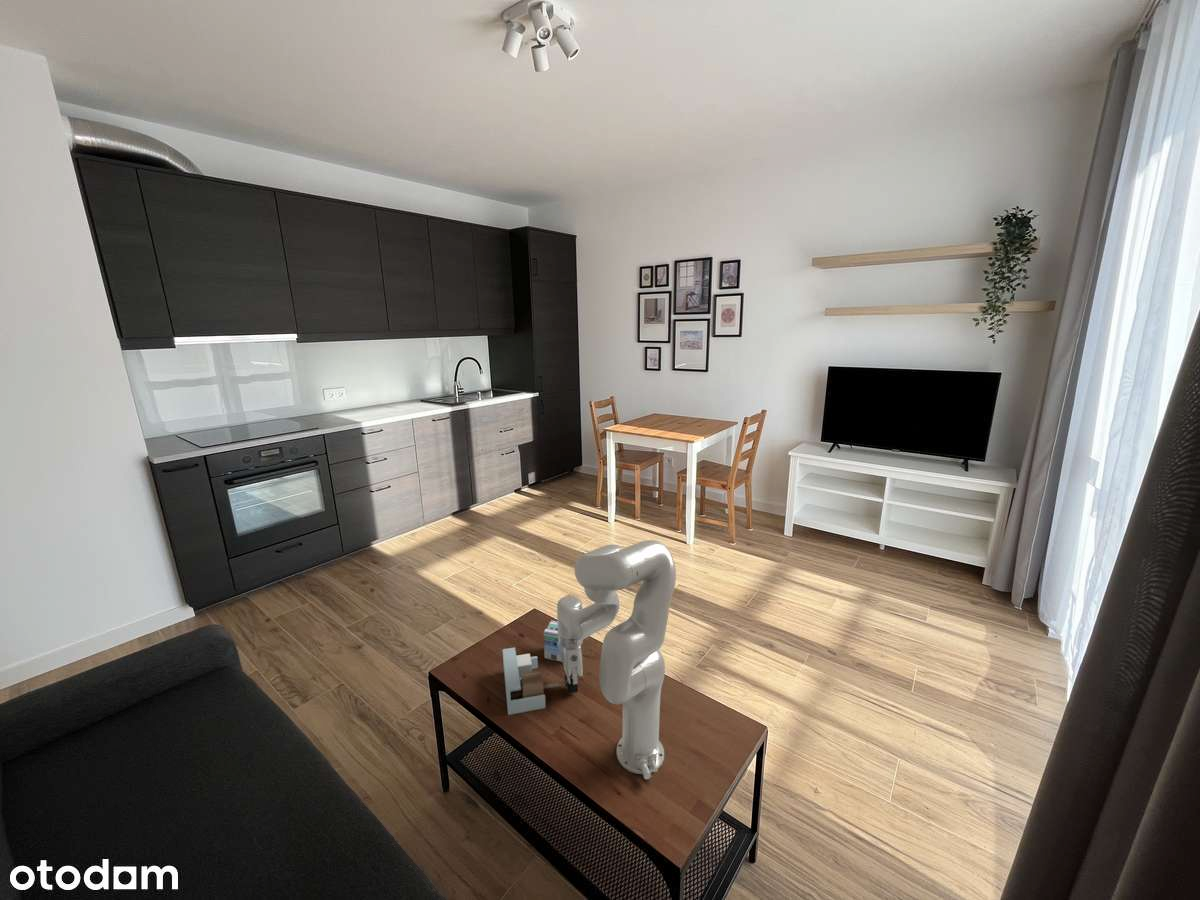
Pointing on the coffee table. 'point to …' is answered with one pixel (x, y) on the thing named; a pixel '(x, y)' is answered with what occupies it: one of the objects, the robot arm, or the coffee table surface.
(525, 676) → the tethered block
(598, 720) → the coffee table surface
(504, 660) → the lane cubby
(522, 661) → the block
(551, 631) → the light bulb box
